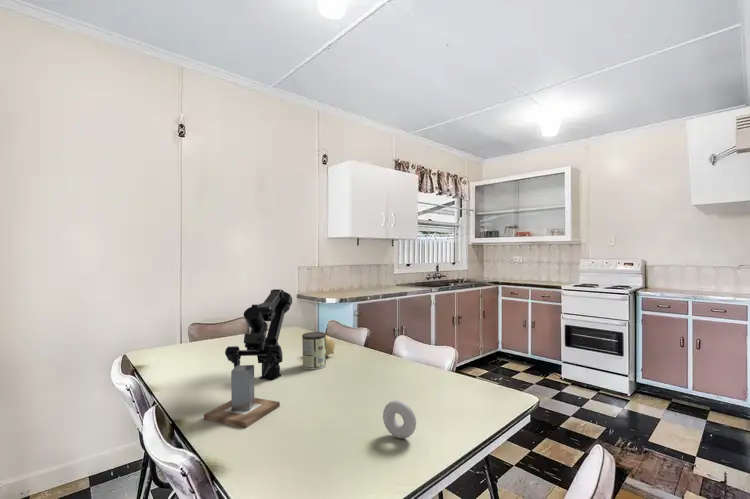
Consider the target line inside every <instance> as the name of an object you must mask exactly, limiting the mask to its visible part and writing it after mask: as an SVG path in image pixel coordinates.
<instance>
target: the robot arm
mask: <svg viewBox="0 0 750 499" xmlns="http://www.w3.org/2000/svg"><path fill="white" fill-rule="evenodd" d="M292 304H293V297H292V295H291V293H288V292H287V291H284V290H283V289H280V288H278V289H277V288H276V289H275V288H273V289H271V290H270V293H269V295H268V296H267V297H266V298H265V300H264V301H263V302H262V303H258V304H251V306H250V307H247V308H246V309H245V311H243V318H244V320H245V321H246V324H247V326H248V328H250V333H249V332H248V333H247V332H245V333H244V335H243V336H244V338H243V343H244V348H245V349H240V347H239V346H237V345H236V346H234V345H233V346H231V345H230V346H227V347H226V348H225V351H224V355H225V356H226V358H227V361H229V362H231V363H232V364H233V369H234V368H235V367H236V366H237V365H241V358H242V357H246V356H248V357H249V356H250V357H251V356H252V357H257V363H258V364H261V376H259V377H258V379H260V380H261V379H262V380H268V381H273V380H276V379H277V378H279V377H281V376H282V373H281V366H280V363H282V362H283V351H282V347H281V345H280V344H279V342H278V341H279V337H280V333H281V329H282V325H283V321H284V317H285V314H286V313H287V312H288V311H289V310H290V308H291V306H292ZM267 322H270V324H269V326H268V323H267Z"/></svg>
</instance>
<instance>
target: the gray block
mask: <svg viewBox="0 0 750 499" xmlns="http://www.w3.org/2000/svg"><path fill="white" fill-rule="evenodd" d="M230 373H231V374H230V375H231V377H230V378H231V379H230V380H231V383H230V384H231V388H230V389H231V392H230V393H231V400H232V411H250V410H251V408H252V407H253V405H254V398H255V365H254V364H250V365H249V364H245V365H244V364H242V365H241V364H240V365H237V366H236V367H235V368H234V367H233V368H232V370H231V372H230Z"/></svg>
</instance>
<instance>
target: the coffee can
mask: <svg viewBox="0 0 750 499" xmlns="http://www.w3.org/2000/svg"><path fill="white" fill-rule="evenodd" d="M325 336H326V333H325V332H322V331H311V332H305V333H303V334H302V335H301V337H302V368H303V369H305V370H321V369H323V368H325V367H326V366H327V363H326V360H327V356H326V350H325Z"/></svg>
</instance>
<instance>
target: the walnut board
mask: <svg viewBox="0 0 750 499" xmlns="http://www.w3.org/2000/svg"><path fill="white" fill-rule="evenodd" d="M280 404H281V403H280V401H276V400H270V399H265V398H259V397H254V405H253V407H252V408H251V410H250V411H232V399H230V400H229V401H226V402H225V403H223V404H220V405H219V406H217V407H216V408H214V409H212V410H210V411H208V412H206V413H204V414H203V420H206V421H211V422H216V423H221V424H224V425H225V424H226V425H231V426H235V427H241V428H245V429H246V428H249V427H250V426H252V425H253V424H255V423H256V422H258V421H259V420H261V419H263V418H264V417H266V416H267V415H269V414H270V413H272V412H274V411H275V410H276V409H278V408H280V407H281V405H280Z"/></svg>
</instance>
